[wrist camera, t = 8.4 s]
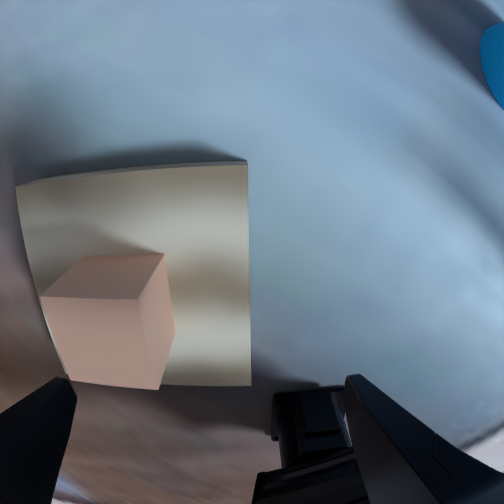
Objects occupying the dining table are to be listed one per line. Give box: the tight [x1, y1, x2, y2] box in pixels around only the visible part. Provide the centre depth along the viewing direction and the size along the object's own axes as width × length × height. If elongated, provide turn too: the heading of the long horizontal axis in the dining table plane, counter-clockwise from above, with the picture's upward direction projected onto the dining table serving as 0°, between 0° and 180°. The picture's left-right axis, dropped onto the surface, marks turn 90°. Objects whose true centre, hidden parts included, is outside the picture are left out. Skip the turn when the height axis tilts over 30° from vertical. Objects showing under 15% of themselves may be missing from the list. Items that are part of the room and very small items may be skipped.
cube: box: [40, 254, 176, 390], centre depth 15 cm, size 5×5×5 cm
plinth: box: [15, 160, 251, 386], centre depth 19 cm, size 14×14×3 cm
